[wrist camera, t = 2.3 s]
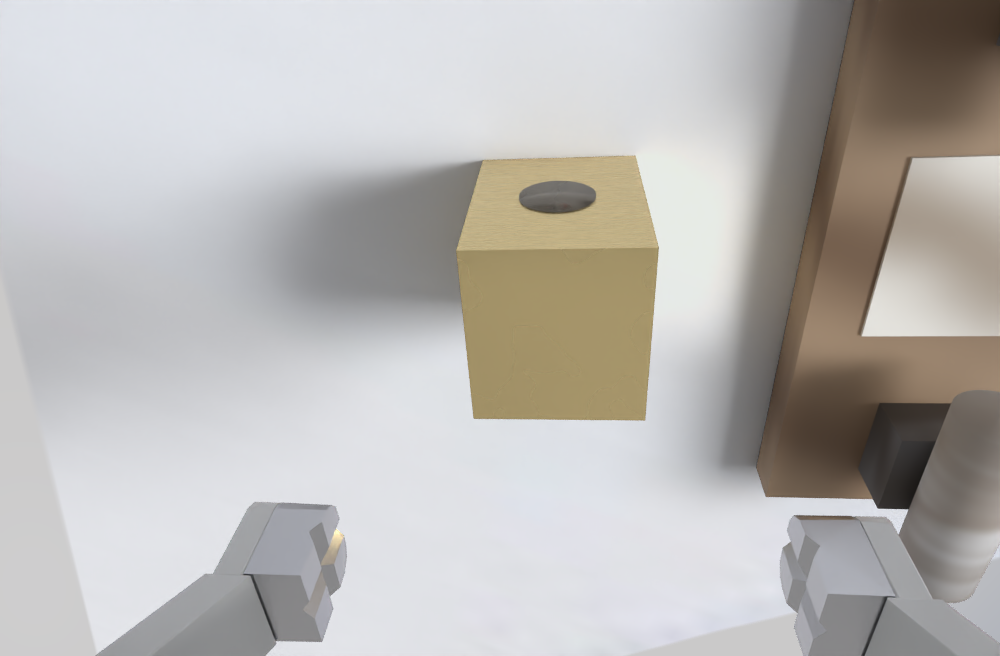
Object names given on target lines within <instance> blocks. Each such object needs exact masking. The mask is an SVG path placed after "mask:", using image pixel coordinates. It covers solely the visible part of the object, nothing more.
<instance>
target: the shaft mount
mask: <svg viewBox="0 0 1000 656" xmlns="http://www.w3.org/2000/svg"><path fill="white" fill-rule="evenodd" d="M756 468H757V471H758V474H759V477H760V480H761V483H762V486H763V489H764V492H765V496H766V497H798V498H846V499H873V500H874V502H875V504H876V506H877V508H878V509H909V510H908V513H907V515H906V518H905V520H904V523H903V525H902V528H901V530H900V533H899V537H900V539H901V541H902V543H903V544H904V546H905V548H906V550H907V552H908V554H909V556H910V557H911V559H912V561H913V563H914V565H915V567H916V569H917V571H918V572H919V574H920V576H921V578H922V580H923V582H924V584H925V585H926V587H927V589H928V591H929V593H930V595H931V597H932V599H939V600H943V601H945V602H946V603H957V602H962V601H965V600H967V599H968V598H970V597H971V595H973V593H974V591H975V589H976V588H977V586H978V584H979V582H980V580H981V578H982V576H983V574H984V573H985V571H986V569H987V567H988V565H989V563H990V561H991V559H992V558H993V556H994V554H995V552H996V550H997V548H998V546H999V544H1000V0H854V5H853V9H852V14H851V19H850V24H849V28H848V33H847V38H846V43H845V47H844V52H843V57H842V62H841V66H840V71H839V76H838V81H837V86H836V90H835V95H834V100H833V105H832V109H831V114H830V119H829V124H828V128H827V133H826V138H825V143H824V147H823V152H822V157H821V162H820V167H819V171H818V176H817V181H816V186H815V190H814V195H813V200H812V205H811V209H810V214H809V219H808V224H807V228H806V233H805V238H804V243H803V247H802V252H801V257H800V262H799V267H798V271H797V276H796V281H795V286H794V290H793V295H792V300H791V305H790V309H789V314H788V319H787V324H786V328H785V333H784V338H783V343H782V348H781V352H780V357H779V362H778V367H777V371H776V376H775V381H774V386H773V390H772V395H771V400H770V405H769V409H768V414H767V419H766V424H765V429H764V433H763V438H762V443H761V448H760V452H759V457H758V462H757V467H756Z"/></svg>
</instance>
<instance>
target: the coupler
mask: <svg viewBox="0 0 1000 656" xmlns="http://www.w3.org/2000/svg"><path fill="white" fill-rule="evenodd" d="M658 250H659V247H658V243H657V239H656V235H655V231H654V227H653V223H652V219H651V215H650V211H649V207H648V203H647V199H646V195H645V191H644V187H643V184H642V180H641V176H640V172H639V168H638V164H637V160H636V156H608V157H573V158H538V159H503V160H483V162H482V165H481V169H480V172H479V175H478V179H477V182H476V186H475V189H474V192H473V196H472V199H471V202H470V206H469V209H468V212H467V216H466V219H465V223H464V226H463V229H462V233H461V236H460V239H459V243H458V246H457V249H456V254H457V263H458V273H459V283H460V292H461V302H462V311H463V321H464V331H465V340H466V350H467V359H468V369H469V379H470V388H471V398H472V407H473V417H474V419H555V420H645V415H646V402H647V389H648V377H649V364H650V351H651V339H652V326H653V314H654V301H655V288H656V276H657V263H658Z"/></svg>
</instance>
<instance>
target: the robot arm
mask: <svg viewBox="0 0 1000 656" xmlns="http://www.w3.org/2000/svg"><path fill="white" fill-rule="evenodd" d="M338 522H339V516H338V512H337V509H336V506H332V505H319V504H299V503H271V502H254V503H253V504H252V505H251V506H250V507H249V508H248V509H247V511H246V513H245V515H244V517H243V518H242V520H241V522H240V524H239V526H238V528H237V530H236V532H235V533H234V535H233V537H232V539H231V541H230V543H229V545H228V547H227V549H226V550H225V552H224V554H223V556H222V558H221V560H220V562H219V564H218V566H217V567H216V569H215V571H214V573H213V574H205V575H203V576H202V577H200V578H199V579H198V580H196V581H195V582H194V583H192V584H191V585H190V586H188V587H187V588H186V589H184V590H183V591H182V592H180V593H179V594H178V595H176V596H175V597H174V598H172V599H171V600H170V601H168V602H167V603H165V604H164V605H163V606H161V607H160V608H159V609H157V610H156V611H155V612H153V613H152V614H151V615H149V616H148V617H147V618H145V619H144V620H143V621H141V622H140V623H139V624H137V625H136V626H135V627H133V628H132V629H131V630H129V631H128V632H126V633H125V634H124V635H122V636H121V637H120V638H118V639H117V640H116V641H114V642H113V643H112V644H110V645H109V646H108V647H106V648H105V649H104V650H102V651H101V652H100V653H98V654H97V655H96V656H265V655H266V654H267V653H268V652H269V651H270V650H271V649H272V648H273V647H274V646H275V645H276V641H306V642H322V641H323V638H324V635H325V632H326V629H327V626H328V623H329V620H330V617H331V614H332V611H333V606H332V602H331V599H330V596H331V595H332V594H333V593H334V592H335V591H336V590H337V589H339V588H340V587H341V583H342V580H343V577H344V574H345V567H346V559H347V551H346V542H345V538H344V535H343V534H341V533H340V532H339V531H338V530H337V529H336V527H337V524H338ZM787 532H788V535H789V538H790V541H791V542H790V543H789V544H787V545H786V546H785V547H783V549H782V554H781V559H780V578H781V584H782V589H783V593H784V596H785V600H786V603H787V604H788V605H789V606H790V607H791V608H792V609H793V610H795V611H796V612H797V613H798V614H797V618H796V621H795V625H794V628H795V632H796V635H797V638H798V640H799V644H800V647H801V650H802V653H803V656H1000V643H999V642H998V641H996V640H995V639H994V638H992V637H991V636H990V635H988V634H987V633H986V632H984V631H983V630H982V629H980V628H979V627H977V626H976V625H975V624H974V623H973V622H971V621H970V620H968V619H967V618H966V617H965V616H963V615H962V614H960V613H959V612H958V611H957V610H955V609H954V608H953V607H951V606H950V605H949V604H947V603H946V602H945V601H943V600H939V599H932V597H931V595H930V593H929V591H928V589H927V587H926V585H925V584H924V582H923V580H922V578H921V576H920V574H919V572H918V571H917V569H916V567H915V565H914V563H913V561H912V559H911V557H910V556H909V554H908V552H907V550H906V548H905V546H904V544H903V543H902V541H901V539H900V537H899V535H898V533H897V531H896V529H895V528H894V526H893V524H892V522H891V521H890V520H889V519H887V518H886V517H860V516H855V517H852V516H805V515H793V517H792V518H791V519H790V521H789V525H788V529H787Z"/></svg>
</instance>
